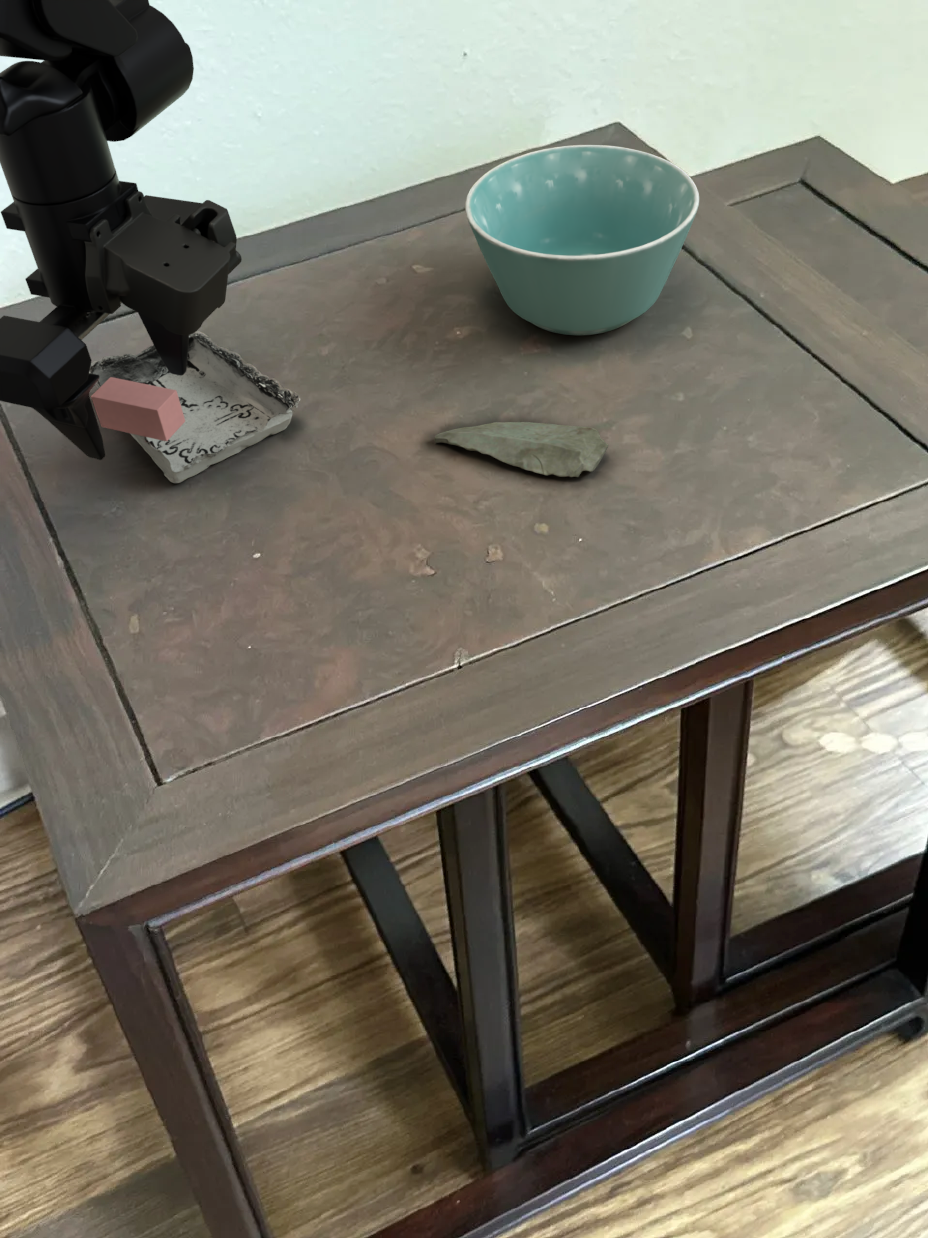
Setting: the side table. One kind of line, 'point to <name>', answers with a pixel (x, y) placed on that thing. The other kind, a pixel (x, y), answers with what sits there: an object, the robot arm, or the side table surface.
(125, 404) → the eraser
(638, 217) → the bowl
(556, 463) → the stone
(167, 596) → the side table surface
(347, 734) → the side table surface
